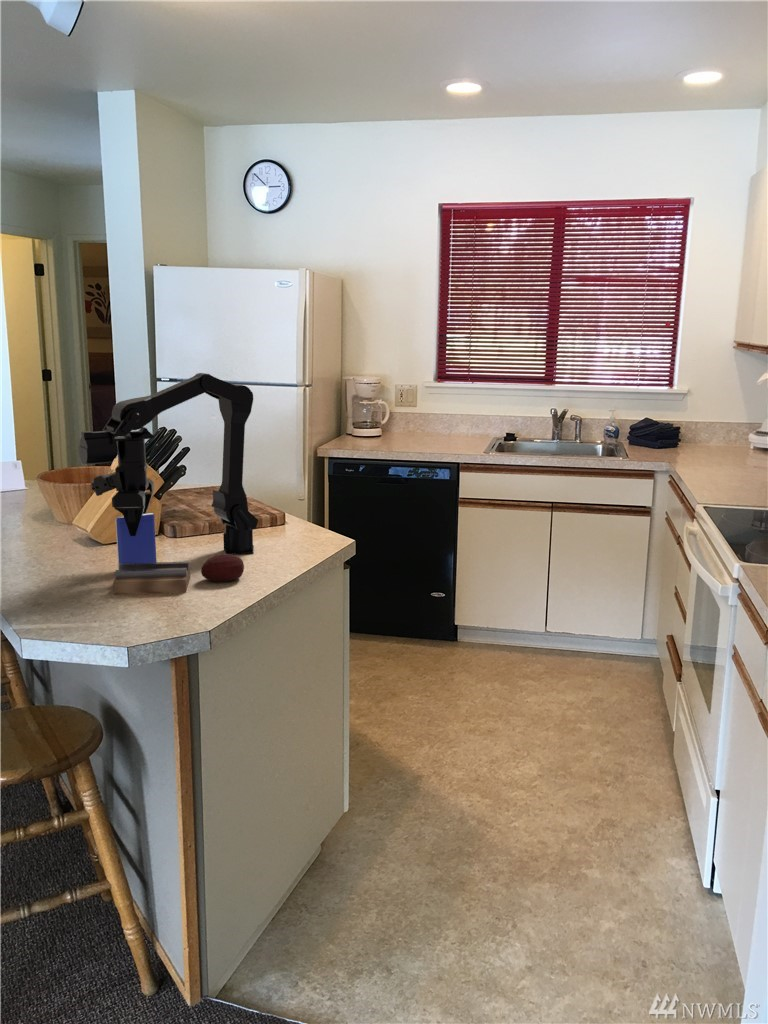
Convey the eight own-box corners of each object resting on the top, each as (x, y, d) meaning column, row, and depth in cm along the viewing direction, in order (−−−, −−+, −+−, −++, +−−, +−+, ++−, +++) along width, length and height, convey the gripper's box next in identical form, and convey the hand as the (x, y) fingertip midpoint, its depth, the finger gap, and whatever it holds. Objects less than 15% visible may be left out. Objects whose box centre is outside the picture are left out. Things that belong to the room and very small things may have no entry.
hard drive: (157, 568, 178) (154, 514, 175) (120, 573, 174) (116, 518, 171) (155, 566, 179) (152, 512, 177) (118, 571, 175) (114, 516, 172)
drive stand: (190, 578, 171) (189, 558, 170) (186, 593, 161) (185, 572, 160) (122, 581, 168) (121, 560, 167) (114, 596, 159) (112, 574, 158)
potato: (245, 585, 167) (244, 558, 165) (201, 588, 165) (200, 560, 164) (243, 575, 174) (243, 548, 173) (201, 577, 172) (200, 550, 171)
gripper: (101, 454, 179) (105, 521, 182) (83, 468, 161) (89, 542, 164) (152, 453, 181) (156, 520, 184) (140, 467, 163) (144, 541, 166)
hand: (136, 530), depth 175 cm, fingers open, 9 cm apart
